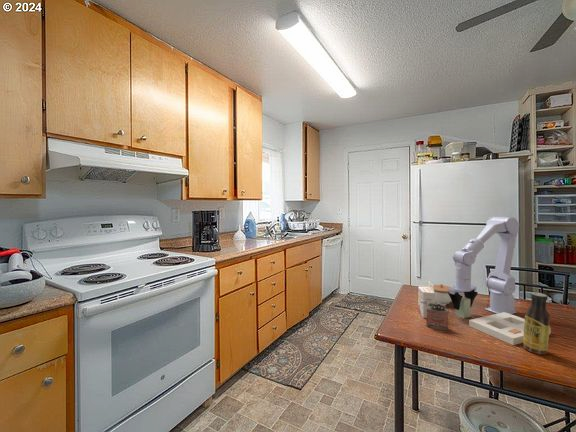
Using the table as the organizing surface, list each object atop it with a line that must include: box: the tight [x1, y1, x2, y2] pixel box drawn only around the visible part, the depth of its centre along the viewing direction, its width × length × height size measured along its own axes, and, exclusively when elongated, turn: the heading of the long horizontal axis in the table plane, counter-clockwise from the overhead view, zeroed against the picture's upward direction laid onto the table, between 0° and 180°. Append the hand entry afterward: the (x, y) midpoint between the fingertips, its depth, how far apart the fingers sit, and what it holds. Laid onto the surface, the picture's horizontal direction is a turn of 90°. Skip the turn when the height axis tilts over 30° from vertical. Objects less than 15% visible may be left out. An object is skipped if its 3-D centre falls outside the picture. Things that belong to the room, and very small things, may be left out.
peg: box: [454, 296, 471, 319], centre depth 119 cm, size 4×4×8 cm
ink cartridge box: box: [417, 280, 436, 319], centre depth 121 cm, size 9×5×15 cm, turn 168°
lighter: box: [425, 303, 450, 331], centre depth 108 cm, size 8×3×10 cm, turn 71°
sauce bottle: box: [522, 291, 551, 356], centre depth 90 cm, size 7×6×20 cm
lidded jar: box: [431, 284, 452, 306], centre depth 135 cm, size 11×11×9 cm
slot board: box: [468, 312, 552, 346], centre depth 106 cm, size 22×16×3 cm
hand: (462, 307), depth 119 cm, fingers open, 7 cm apart
